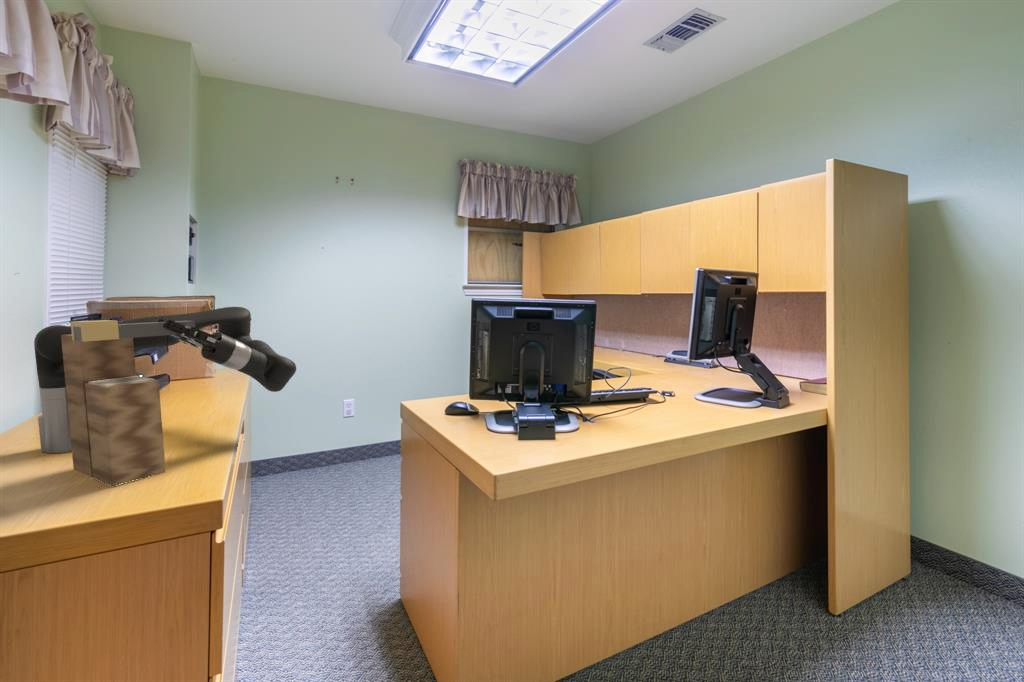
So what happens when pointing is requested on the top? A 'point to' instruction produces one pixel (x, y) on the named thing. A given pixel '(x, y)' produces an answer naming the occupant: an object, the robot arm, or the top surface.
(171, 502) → the top surface
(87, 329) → the bar
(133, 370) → the brown stepped block
